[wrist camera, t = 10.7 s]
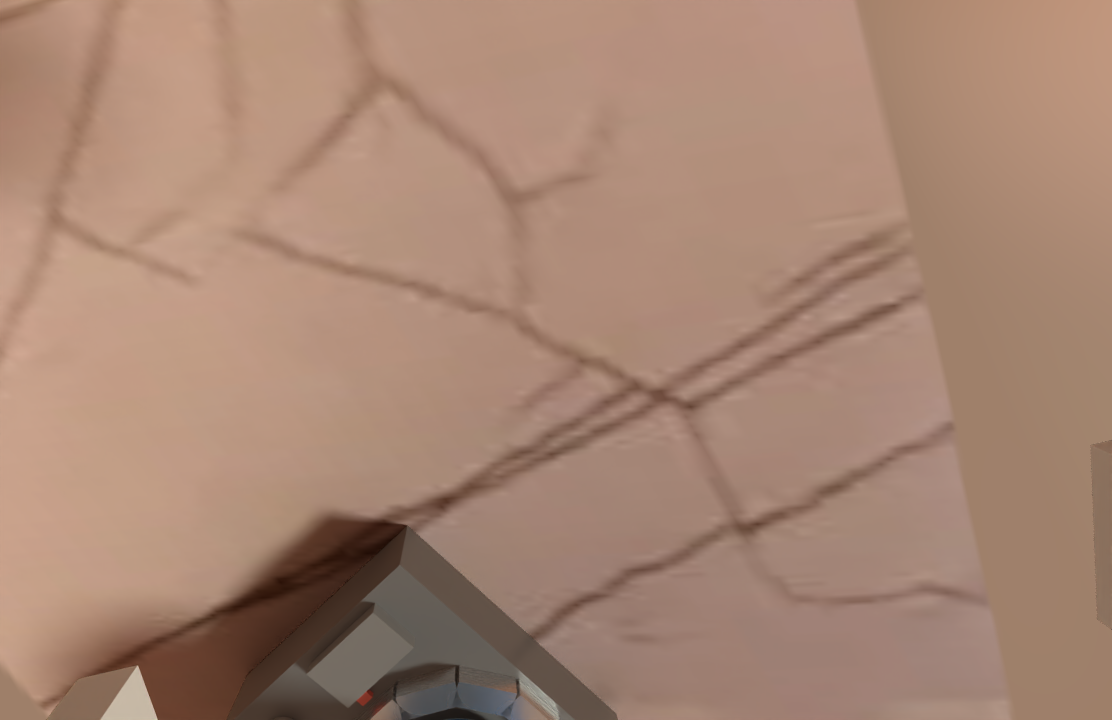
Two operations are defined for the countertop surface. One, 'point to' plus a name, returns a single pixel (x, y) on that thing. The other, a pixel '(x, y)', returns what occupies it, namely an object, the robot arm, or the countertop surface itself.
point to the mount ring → (459, 696)
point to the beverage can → (458, 719)
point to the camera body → (402, 645)
